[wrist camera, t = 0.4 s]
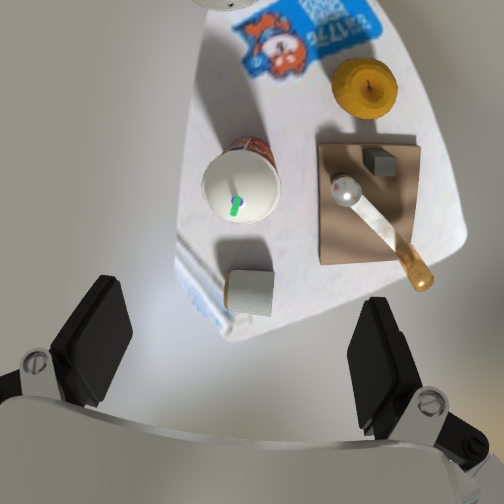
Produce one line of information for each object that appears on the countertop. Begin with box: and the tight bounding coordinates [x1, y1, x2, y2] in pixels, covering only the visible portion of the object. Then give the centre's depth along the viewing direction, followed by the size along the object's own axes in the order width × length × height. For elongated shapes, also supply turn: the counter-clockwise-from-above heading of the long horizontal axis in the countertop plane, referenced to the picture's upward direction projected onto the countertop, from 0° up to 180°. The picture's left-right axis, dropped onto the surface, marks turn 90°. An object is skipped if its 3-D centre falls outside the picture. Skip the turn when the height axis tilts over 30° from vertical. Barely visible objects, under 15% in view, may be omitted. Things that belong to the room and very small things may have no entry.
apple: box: [332, 58, 398, 119], centre depth 32 cm, size 8×8×9 cm
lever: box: [331, 174, 434, 292], centre depth 38 cm, size 18×4×10 cm, turn 51°
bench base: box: [318, 143, 421, 265], centre depth 42 cm, size 20×16×7 cm
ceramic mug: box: [224, 270, 275, 316], centre depth 52 cm, size 11×8×8 cm
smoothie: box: [201, 137, 281, 224], centre depth 35 cm, size 8×8×20 cm
